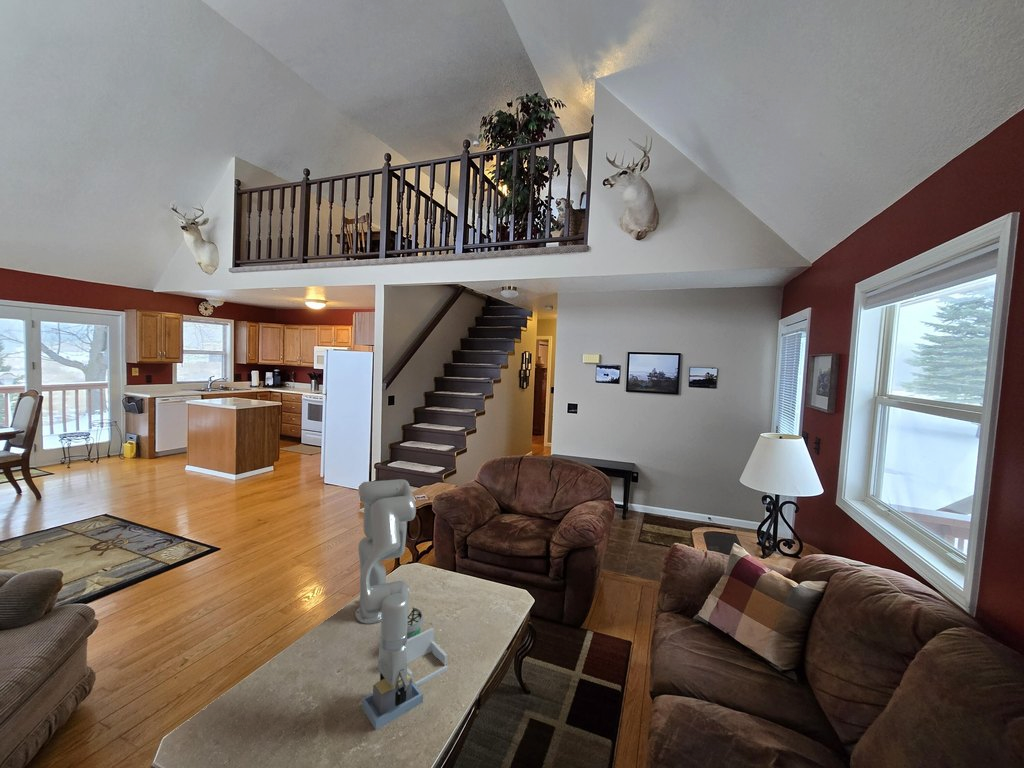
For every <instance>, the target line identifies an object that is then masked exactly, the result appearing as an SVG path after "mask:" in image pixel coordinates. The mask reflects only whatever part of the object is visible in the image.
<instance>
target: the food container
mask: <svg viewBox="0 0 1024 768" xmlns="http://www.w3.org/2000/svg"><path fill="white" fill-rule="evenodd" d="M423 624H424V616H423V614H422V611H421V610H420V609H418V608H416V607H414V606H413V607H412V610H411V612H410V613H409V614H408V626H407V639H409V638H411V637H413V636H416V635H418V634H420V633H422V631H421V630H422V626H423Z"/></svg>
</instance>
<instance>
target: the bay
mask: <svg viewBox="0 0 1024 768" xmlns="http://www.w3.org/2000/svg"><path fill="white" fill-rule="evenodd" d="M406 651H407V663H408V664H409V662H410V663H411V661H412V662H413V660H414V661H415V660H418V659H419V658H421V657H423V656H425V655H428V654H429V653H431V654H433V655H434V657H436V659H437V658H438V659H439V660H440V661H441V662H442V663H443V664H444V665H445V666H444V665H443V664H442V663H441V662H440V661H439V660H438V659H437V660H438V661H439V662H440V663H441V664H442V665H443V666H442V667H440V668H439V669H437V670H435V671H433V672H431V673H429V674H428V675H426V676H424V677H422V678H420V679H418V680H417V681H415V682H414V684H415V685H416V686H417V687H418V688H419V687H420V686H421V685H423V684H425V683H427V682H428V681H430V680H432V679H435V678H436V677H437V676H439V675H442V674H443V673H445V672H447V671H448V670H449V665H448V654H447V653H446V652H445V651H444V650H443V649H442V647H440V646H439V645H438V644H437V643H436V642H435V628H434V627H430V628H429V629H427V630H425V631H421V632H420V634H418V635H416V636H413V637H411V638H409V639H407V644H406ZM422 655H423V656H422ZM420 656H421V657H420ZM418 657H419V658H418ZM446 664H447V665H446ZM407 673H408V675H409V676H410V677H411V678H412V679H413V672H412V670H411V669H410V668H409V667H408V666H407Z"/></svg>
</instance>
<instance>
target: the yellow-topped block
mask: <svg viewBox="0 0 1024 768" xmlns="http://www.w3.org/2000/svg"><path fill="white" fill-rule="evenodd" d="M400 679H401V678H400V677H399V679H398V680H400ZM407 679H408V681H409V684H410V685H409V687H408V690H406V701H408V700H410V699H412V681H413V677H412V678H411V677H410V676H409V675H408V673H407ZM398 685H399V689H400V688H401V687H403V683H402V682H400V683H398ZM396 692H397V691H396V687H395V685H394V686H391V685H390V684H389V683H388V682H387V681H386V679H383V680H381V681H380V680H379V681H377V682H375V683H374V684H373V685H372V693H373V706H374V708H375V710H376V711H377V713H378V714H379V716H382V715H384V714H385V713H387V712H389V711H391V710H392V709H394V708H396V707H398V706H399V705H398V706H396V705H395V693H396ZM406 701H405V702H406ZM405 702H403V703H405ZM403 703H402V704H403ZM400 705H401V704H400Z"/></svg>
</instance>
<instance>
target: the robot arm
mask: <svg viewBox="0 0 1024 768" xmlns="http://www.w3.org/2000/svg"><path fill="white" fill-rule="evenodd" d="M358 495H359V499H360V500H361V502H362V503H363V533H364V536H365V537H363V538H362V539H360V541H359V542H358V544H357V546H358V549H357V551H358V557H359V564H360V565H359V566H360V567H359V569H360V570H359V572H360V573H359V575H360V576H359V607H358V608H357V609H356V611H355V619H356V621H358V623H359V622H360V623H362V624H367V625H369V624H376V623H379V622H380V642H379V648H378V658H377V667H378V668H377V669H378V671H379V681H381V680H383V679H386V681H387V682H388V683H389V684H390V685H391V686H394V685H395V687H396V691H397V692H396V693H395V705H396V706H398V705H400V704H402V703H403V702H405V701H406V690H408V687H409V685H410V684H409V681H408V679H407V667H408V664H407V651H406V644H407V626H408V616H409V612H408V611H409V599H410V587H409V585H408V584H407V582H406V581H405V580H397V581H391V582H387V579H386V578H387V571H386V567H385V565H384V564H383V563H382V561H385V560H391V559H398V558H400V557H402V556H403V555H404V553H405V550H406V541H407V539H406V538H407V528H408V522H410V521H412V520H414V519H415V517H416V513H417V508H416V507H417V506H416V501H415V500H416V499H415V497H414V494H413V491H412V489H411V486H410V483H409V482H408V480H406V479H398V478H397V479H389V480H385V479H384V480H373V481H363V482H361V484H360V485H359V486H358ZM399 677H400V678H401V679H400V680H398V679H399ZM400 682H402V683H403V687H401V688H400V689H399V685H398V683H400Z"/></svg>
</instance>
